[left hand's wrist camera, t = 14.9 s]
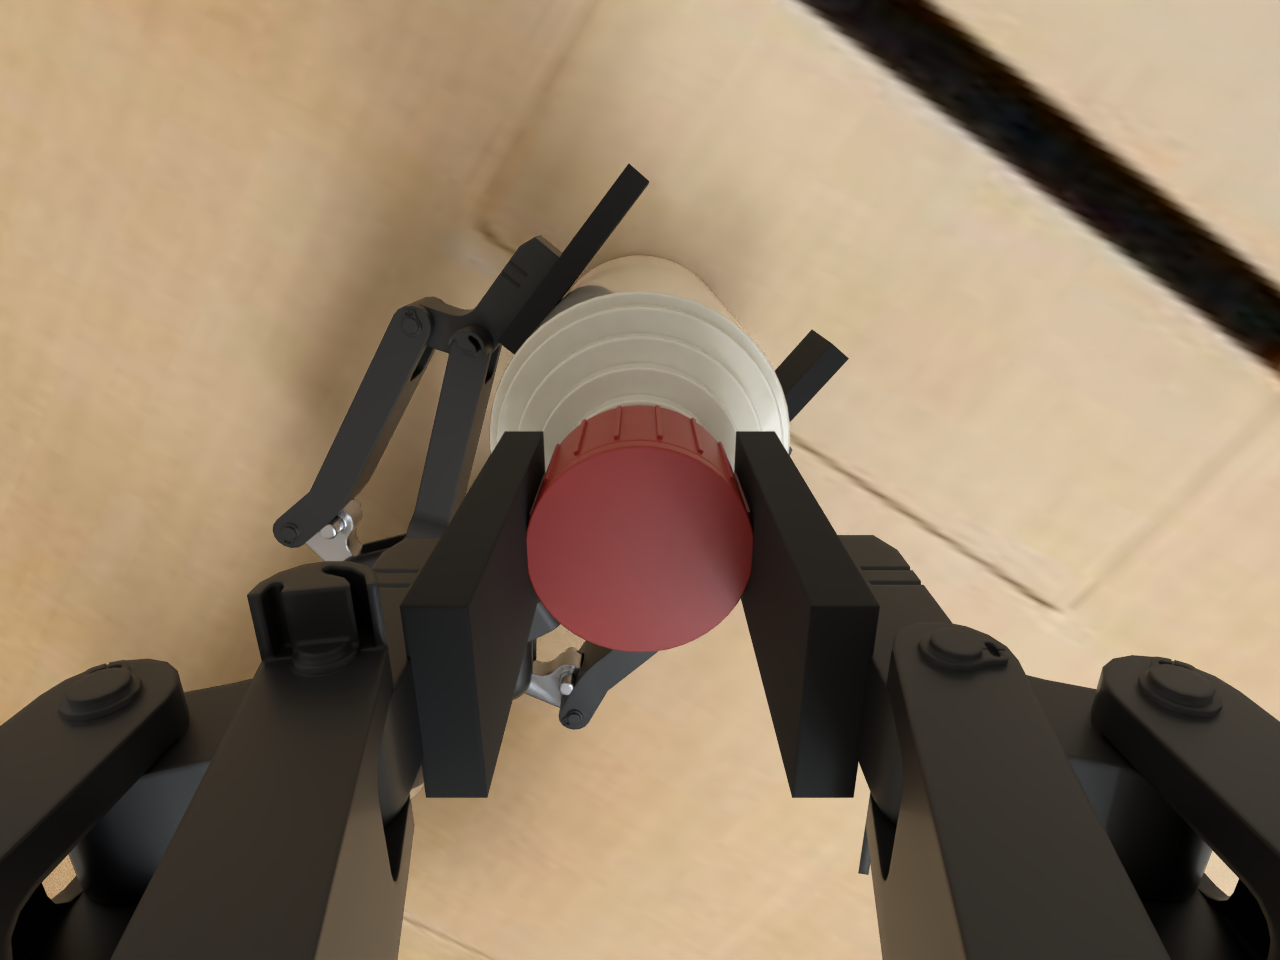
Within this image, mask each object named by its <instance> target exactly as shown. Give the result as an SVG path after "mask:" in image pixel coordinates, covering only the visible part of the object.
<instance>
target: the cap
mask: <svg viewBox="0 0 1280 960" xmlns="http://www.w3.org/2000/svg"><path fill="white" fill-rule="evenodd" d="M749 516H750V510H749V507H748V504H747V502H746V499H745V496H744V493H743V490H742V488H741V485H740V482H739V479H738V477H737V474H736V473H733V470H732V467H731V464H730V462H729V460H728V458H727V455H726V453H725V450H724V447H723V444H722V443H721V442H719V443H718V442H717V441H716V439H715V438H714V437H713V436H712V435H711V434H710V433H709V432H708V431H707V430H706V429H704V428H703V427H702V426H701V425H700V424H698V423H696V420H695V419H694V418H691V419H690V418H688V417H686V416H684V415H682V414H680V413H678V412H675V411H672V410H668V409H665V408H660V406H659V405H656V406H642V405H636V406H624V407H622V406H617V408H615V409H611V410H608V411H605V412H602V413H599V414H597V415H595V416H593V417H591V418H589V419H588V420H586V419H584V420H582V422H581V424H580V425H579V426H577V427H576V428H575V429H574V430H573V431H572V432H571V433H569V434H568V435H567V437H566V438H565V439H564V440H563V441H562V442H561V444H558V443H557V445H556V446H555V449H554V452H553V455H552V457H551V460H550V463H549V465H548V468H547V471H546V474H545V475H543V478H542V481H541V484H540V486H539V489H538V492H537V495H536V498H535V500H534V503H533V506H532V509H531V512H530V519H529V523H528V526H527V530H526V539H527V556H528V571H529V578H530V581H531V584H532V586H533V588H534V590H535V592H536V594H537V596H538V597H539V599H540V601H541V602H542V604H543V605H544V607H545V608H546V609H547V610H548V611H549V613H550V614H551V615H552V616H553V617H554V618H555V619H556V620H557V621H558V622H559V623H560V624H561V625H563V626H564V627H565V628H567V629H568V630H570V631H571V632H572V633H574V634H575V635H577V636H579V637H581V638H583V639H585V640H586V641H589V642H591V643H594V644H596V645H599V646H602V647H606V648H610V649H613V650H620V651H626V652H653V651H660V650H665V649H670V648H674V647H677V646H680V645H683V644H686V643H688V642H690V641H693V640H695V639H697V638H699V637H700V636H702V635H704V634H706V633H707V632H709V631H710V630H711V629H713V628H714V627H715V626H717V625H718V624H719V623H720V622H721V621H722V620H723V619H724V618H725V617H726V616H727V615H728V614H729V613H730V612H731V611H732V609H733V608H734V607H735V606H736V604H737V603H738V601H739V600H740V598H741V596H742V595H743V593H744V591H745V589H746V587H747V584H748V582H749V580H750V576H751V565H752V549H753V529H752V524H751V521H750V518H749Z"/></svg>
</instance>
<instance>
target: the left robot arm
mask: <svg viewBox="0 0 1280 960" xmlns="http://www.w3.org/2000/svg"><path fill="white" fill-rule="evenodd" d="M734 473H736V474H737V477H738V479H739V482H740V485H741V488H742V490H743V493H744V496H745V499H746V502H747V504H748V507H749V510H750V516H749V518H750V521H751V524H752V529H753V549H752V565H751V576H750V580H749V582H748V584H747V587H746V589H745V591H744V593H743V595H742V596H741V601H742V604H743V608H744V612H745V616H746V620H747V624H748V628H749V632H750V636H751V639H752V643H753V647H754V651H755V655H756V659H757V663H758V667H759V670H760V674H761V678H762V682H763V686H764V690H765V694H766V698H767V701H768V705H769V709H770V713H771V717H772V721H773V725H774V729H775V732H776V736H777V740H778V744H779V748H780V752H781V756H782V760H783V763H784V767H785V771H786V775H787V779H788V783H789V787H790V791H791V794H792V798H853V797H854V790H855V782H856V775H857V768H858V761H859V763H860V766H861V769H862V771H863V774H864V776H865V779H866V781H867V784H868V786H869V789H870V791H871V792H870V799H869V805H868V812H867V819H866V825H865V832H864V839H863V846H862V852H861V859H860V866H859V873H861V874H867V875H868V873H869V867H870V863H871V871H872V879H873V887H874V894H875V902H876V910H877V918H878V926H879V934H880V942H881V950H882V958H883V960H1280V722H1279V721H1278V720H1277V719H1275V718H1274V717H1273V716H1271V715H1270V714H1269V713H1268V712H1266V711H1265V710H1264V709H1262V708H1261V707H1260V706H1258V705H1257V704H1256V703H1254V702H1253V701H1252V700H1250V699H1249V698H1248V697H1246V696H1245V695H1244V694H1243V693H1241V692H1240V691H1238V690H1237V689H1235V688H1233V687H1232V686H1230V685H1228V684H1227V683H1225V682H1224V681H1222V680H1220V679H1219V678H1217V677H1215V676H1213V675H1211V674H1208V673H1206V672H1203V671H1201V670H1198V669H1196V668H1195V667H1193V666H1192V665H1189V664H1187V663H1183V662H1180V661H1176V660H1175V661H1171V659H1167V658H1162V657H1147V656H1134V655H1131V656H1126V657H1120V658H1114V659H1112V660H1111V661H1110V662H1109V663H1107V664H1106V665H1105V666H1104V667H1103V668H1102V672H1101V676H1100V679H1099V683H1098V686H1097V689H1091V688H1086V687H1081V686H1076V685H1070V684H1065V683H1060V682H1054V681H1049V680H1044V679H1040V678H1036V677H1032V676H1028V675H1026V674H1025V672H1024V671H1023V669H1022V667H1021V665H1020V663H1019V661H1018V659H1017V658H1016V657H1015V656H1014V655H1013V653H1012V652H1011V651H1010V650H1009V649H1008V648H1007V647H1006V646H1005V645H1003V644H1002V643H1000V642H999V641H997V640H996V639H994V638H992V637H991V636H989V635H987V634H985V633H982V632H979V631H977V630H974V629H972V628H969V627H966V626H962V625H956V624H953V623H952V622H951V621H950V619H949V618H948V617H947V615H946V614H945V613H944V611H943V610H942V609H941V607H940V606H939V605H938V603H937V602H936V601H935V599H934V598H933V597H932V596H931V594H930V593H929V592H928V590H927V589H926V588H925V586H924V585H921V581H920V580H919V578H918V577H917V576H916V574H915V573H914V572H913V570H910V566H909V565H908V564H907V562H906V561H905V560H904V558H903V557H902V556H901V554H900V553H899V552H898V550H897V549H895V548H893V547H892V546H890V545H888V544H887V543H885V542H883V541H882V540H880V539H879V538H877V537H875V536H874V535H837V534H836V532H835V531H834V529H833V527H832V526H831V524H830V522H829V521H828V519H827V517H826V516H825V514H824V512H823V511H822V509H821V507H820V506H819V504H818V502H817V501H816V499H815V497H814V496H813V494H812V492H811V491H810V489H809V487H808V486H807V484H806V482H805V481H804V479H803V477H802V476H801V474H800V472H799V471H798V469H797V468H796V466H795V464H794V463H793V461H792V459H791V458H790V456H789V454H788V453H787V451H786V449H785V448H784V446H783V444H782V443H781V441H780V439H779V438H778V436H777V434H776V433H775V431H736V445H735V464H734ZM545 474H546V473H545V454H544V434H543V431H505V432H504V434H503V435H502V437H501V438H500V440H499V442H498V443H497V445H496V447H495V448H494V450H493V452H492V453H491V455H490V457H489V458H488V460H487V462H486V463H485V465H484V467H483V468H482V470H481V472H480V473H479V475H478V477H477V478H476V480H475V482H474V483H473V485H472V487H471V488H470V490H469V492H468V493H467V495H466V497H465V498H464V500H463V502H462V503H461V505H460V507H459V508H458V510H457V512H456V513H455V515H454V517H453V518H452V520H451V521H450V523H449V525H448V526H447V528H446V530H445V531H444V533H443V535H442V536H441V538H405V539H404V540H402V541H400V542H399V543H397V544H395V545H394V546H392V547H391V548H389V549H387V550H386V551H384V552H383V553H382V554H381V555H380V557H379V558H378V559H377V561H376V562H375V563H374V565H373V566H372V567H371V568H370V567H368V566H367V565H364V564H359V563H355V562H351V561H324V562H318V563H312V564H306V565H301V566H298V567H295V568H292V569H289V570H286V571H282V572H279V573H277V574H275V575H274V576H272V577H270V578H268V579H266V580H264V581H262V582H260V583H259V584H258V585H257V586H256V587H255V588H254V589H253V590H252V591H251V592H250V593H249V594H248V595H247V597H248V602H249V606H250V611H251V615H252V619H253V624H254V628H255V633H256V637H257V642H258V646H259V650H260V655H261V659H262V662H261V664H260V666H259V668H258V670H257V672H256V674H255V676H254V678H253V679H249V680H245V681H241V682H237V683H232V684H227V685H221V686H216V687H211V688H206V689H200V690H195V691H190V692H185V693H184V692H183V689H182V685H181V681H180V678H179V674H178V671H177V670H176V669H175V668H174V667H172V666H171V665H170V664H169V663H168V662H164V661H158V660H152V659H139V660H121V661H116V662H110V663H109V664H108V665H106V664H103V665H99V666H96V667H92V668H90V669H88V670H87V671H85V672H83V673H81V674H78V675H76V676H74V677H71V678H69V679H66V680H64V681H63V682H61V683H60V684H58V685H56V686H55V687H53V688H52V689H50V690H48V691H47V692H45V693H43V694H42V695H40V696H39V697H38V698H36V699H35V700H34V701H32V702H31V703H30V704H29V705H27V706H26V707H25V708H23V709H22V710H21V711H19V712H18V713H17V714H16V715H14V716H13V717H12V718H10V719H9V720H8V721H6V722H5V723H4V724H2V725H1V726H0V960H397V959H398V952H399V944H400V936H401V928H402V920H403V912H404V904H405V896H406V888H407V880H408V872H409V864H410V856H411V848H412V840H413V833H414V819H413V812H412V805H411V799H410V791H411V789H412V786H413V784H414V781H415V779H416V776H417V774H418V771H419V768H420V766H421V764H422V771H423V779H424V786H425V793H426V798H487V797H488V793H489V789H490V785H491V781H492V777H493V773H494V769H495V766H496V762H497V758H498V754H499V750H500V746H501V742H502V738H503V735H504V731H505V727H506V723H507V719H508V715H509V711H510V707H511V704H512V700H513V696H514V692H515V688H516V684H517V680H518V676H519V673H520V669H521V665H522V661H523V657H524V653H525V649H526V645H527V642H528V638H529V634H530V630H531V626H532V622H533V618H534V614H535V611H536V607H537V603H538V599H539V597H538V596H537V594H536V592H535V590H534V588H533V586H532V584H531V581H530V578H529V571H528V556H527V539H526V530H527V526H528V523H529V519H530V512H531V509H532V506H533V503H534V500H535V498H536V495H537V492H538V489H539V486H540V484H541V481H542V478H543V475H545ZM1212 850H1213V851H1214V852H1215V853H1216V854H1217V855H1218V856H1219V858H1220V859H1221V860H1222V861H1223V862H1224V863H1225V864H1226V865H1227V866H1228V867H1229V868H1230V869H1231V870H1232V871H1233V872H1234V873H1235V874H1236V875H1237V876H1238V878H1239V881H1238V883H1237V886H1236V888H1235V890H1234V893H1233V894H1232V895H1231V896H1230V897H1229V896H1227V895H1226V894H1225V893H1224V892H1222V891H1221V890H1220V889H1219V888H1218V887H1217V886H1216V885H1215V884H1214V883H1213V882H1212V881H1211V880H1210V879H1209V878H1208V876H1207V875H1206V874H1205V873H1204V871H1205V868H1206V866H1207V863H1208V860H1209V858H1210V855H1211V853H1212ZM68 854H69V857H70V860H71V862H72V865H73V867H74V870H75V873H76V875H77V876H76V877H75V878H74V879H73V880H72V881H71V882H70V883H69V885H68V886H67V887H66V888H65V889H64V890H63V891H61V892H60V893H59V894H58V895H56V896H55V897H54V898H53V899H50V898H49V897H48V896H47V894H46V892H45V890H44V887H43V885H42V882H43V880H44V879H45V878H46V877H47V876H48V875H49V874H50V873H51V872H52V871H53V870H54V869H55V868H56V867H57V866H58V865H59V863H60V862H61V861H62V860H63V859H64V858H65V857H66V856H67V855H68Z"/></svg>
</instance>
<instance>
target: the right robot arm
mask: <svg viewBox="0 0 1280 960" xmlns="http://www.w3.org/2000/svg"><path fill="white" fill-rule="evenodd" d="M648 184H649V181H648V180H647V179H646V178H645V177H644V176H642V175H641V174H640V173H639V172H638V171H637V170H636V169H635V168H633V167H632V166H631V165H630V164H628V165H627V167H626V168H625V169H624V171H623V172H622V173H621V175H620V176H619V178H618V179H617V180H616V182H615V183H614V184H613V186H612V187H611V188H610V190H609V191H608V192H607V194H606V195H605V196H604V198H603V199H602V200H601V202H600V203H599V205H598V206H597V207H596V209H595V210H594V211H593V213H592V214H591V215H590V217H589V218H588V219H587V221H586V222H585V223H584V225H583V226H582V227H581V229H580V230H579V232H578V233H577V234H576V236H575V237H574V238H573V240H572V241H571V242H570V244H569V245H568V246H567V248H566V249H565V250H564V252H563V253H561V252H560V251H559V250H558V249H557V248H555V247H554V246H553V245H552V244H551V243H549V242H548V241H547V240H546V239H545V238H543V237H542V236H537V237H534V238H533V239H531V240H529V241H528V242H526V243H524V244H523V245H521V246H520V247H519V248H518V250H517V251H516V252H515V254H514V255H513V257H512V258H511V259H510V261H509V262H508V264H507V265H506V266H505V268H504V269H503V270H502V272H501V273H500V275H499V276H498V277H497V279H496V280H495V282H494V283H493V284H492V286H491V287H490V289H489V290H488V291H487V293H486V294H485V296H484V297H483V298H482V300H481V301H480V303H479V304H478V305H477V307H476V308H475V309H472V310H464V309H459V308H456V307H453V306H451V305H448V304H445V303H444V302H443V301H442V300H441V299H438V298H436V297H426V298H423V299H421V300H418V301H416V302H414V303H411V304H409V305H406V306H404V307H402V308H400V309H398V310H397V312H396V313H395V314H394V316H393V318H392V320H391V322H390V324H389V326H388V328H387V330H386V333H385V335H384V337H383V339H382V341H381V343H380V345H379V347H378V349H377V351H376V354H375V356H374V358H373V360H372V362H371V364H370V366H369V368H368V370H367V373H366V375H365V377H364V379H363V381H362V383H361V385H360V387H359V389H358V391H357V394H356V396H355V398H354V400H353V402H352V404H351V406H350V408H349V410H348V413H347V415H346V417H345V419H344V421H343V423H342V425H341V427H340V429H339V431H338V434H337V436H336V438H335V440H334V442H333V444H332V446H331V448H330V450H329V453H328V455H327V457H326V459H325V461H324V463H323V465H322V467H321V469H320V471H319V474H318V476H317V478H316V480H315V482H314V484H313V486H312V488H311V490H310V492H309V493H308V494H307V495H305V496H304V497H303V498H302V499H301V500H300V501H298V502H297V503H296V504H295V505H294V506H293V507H291V508H290V509H289V510H288V511H287V512H286V513H284V514H283V515H282V516H281V517H280V518H279V519H277V521H276V522H275V523H274V525H273V533H274V536H275V538H276V539H277V540H278V542H280V543H281V544H283V545H284V546H287V547H291V548H295V547H300V546H301V545H303V544H305V543H306V544H307V545H308V546H309V547H310V548H311V549H312V550H313V551H314V552H315V553H316V554H318V555H319V556H320V557H321V558H322V559H323V560H324V561H351V562H355V563H359V564H364V565H367V566H368V567H370V568H371V567H372V566H373V565H374V563H375V562H376V561H377V559H378V558H379V557H380V555H381V554H382V553H383V552H384V551H386V550H387V549H389V548H391V547H392V546H394V545H395V544H397V543H399V542H400V541H402V540H404V539H405V538H441V536H442V535H443V533H444V531H445V530H446V528H447V526H448V525H449V523H450V521H451V520H452V518H453V517H454V515H455V513H456V512H457V510H458V508H459V507H460V505H461V503H462V502H463V500H464V498H465V494H466V490H467V486H468V481H469V477H470V473H471V469H472V465H473V461H474V457H475V453H476V449H477V445H478V441H479V437H480V433H481V429H482V424H483V420H484V416H485V412H486V408H487V404H488V400H489V396H490V392H491V388H492V384H493V380H494V376H495V372H496V367H497V363H498V359H499V355H500V351H501V347H502V345H503V346H504V347H505V348H507V349H508V350H509V351H511V352H512V353H513V354H516V352H517V351H518V350H519V349H520V347H521V346H522V345H523V344H524V342H525V341H526V340H527V339H528V337H529V336H530V335H531V334H532V333H533V332H534V331H535V329H536V328H537V327H538V326H539V325H540V324H541V322H542V321H543V320H544V319H545V318H546V317H547V315H548V314H549V313H550V312H551V311H552V310H553V308H554V307H555V306H556V305H557V304H558V303H559V302H560V300H561V299H562V298H563V296H564V295H565V294H566V292H567V291H568V290H569V288H570V287H571V286H572V285H573V283H574V282H575V281H576V279H577V278H578V277H579V275H580V274H581V273H582V271H583V270H584V269H585V267H586V266H587V265H588V263H589V262H590V261H591V259H592V258H593V257H594V255H595V254H596V253H597V251H598V250H599V249H600V248H601V246H602V245H603V244H604V242H605V241H606V240H607V238H608V237H609V236H610V234H611V233H612V232H613V230H614V229H615V228H616V226H617V225H618V224H619V222H620V221H621V220H622V218H623V217H624V216H625V214H626V213H627V212H628V211H629V209H630V208H631V207H632V205H633V204H634V203H635V201H636V200H637V199H638V197H639V196H640V195H641V193H642V192H643V191H644V189H645V188H646V187H647V185H648ZM436 349H437V350H440V351H443V352H446V353H449V357H448V362H447V367H446V371H445V376H444V380H443V385H442V389H441V394H440V398H439V403H438V407H437V412H436V417H435V421H434V426H433V430H432V435H431V439H430V444H429V448H428V453H427V457H426V462H425V466H424V471H423V476H422V480H421V485H420V489H419V494H418V498H417V503H416V507H415V511H414V514H413V517H412V519H411V521H410V524H409V527H408V530H407V533H406V534H402V535H398V536H394V537H390V538H386V539H381V540H377V541H373V542H369V543H365V544H361V543H360V541H359V540H358V538H357V535H356V529H357V526H358V525H359V523H360V521H361V520H362V510H361V504H360V502H359V501H358V500H356V499H354V497H355V496H356V495H357V494H358V493H359V492H360V491H361V490H362V489H363V488H364V486H365V485H366V484H367V483H368V481H369V479H370V478H371V476H372V474H373V473H374V471H375V469H376V467H377V465H378V463H379V461H380V459H381V457H382V455H383V453H384V451H385V449H386V447H387V445H388V443H389V441H390V439H391V437H392V435H393V433H394V431H395V429H396V427H397V425H398V423H399V421H400V419H401V417H402V415H403V413H404V411H405V409H406V407H407V405H408V403H409V401H410V399H411V397H412V395H413V393H414V391H415V389H416V387H417V385H418V383H419V381H420V379H421V377H422V375H423V373H424V371H425V370H426V368H427V366H428V364H429V362H430V360H431V358H432V356H433V354H434V352H435V350H436ZM848 359H849V358H847V357H846V356H845V355H844V354H843V353H842V352H841V351H840V350H838V349H837V348H836V347H835V346H834V345H833V344H832V343H830V342H829V341H827V340H826V339H825V338H823V337H822V336H820V335H819V334H818V333H816V332H815V331H813V330H811V331H810V332H809V333H808V334H807V336H806V337H805V338H804V339H803V340H802V341H801V342H800V343H799V345H798V346H797V347H796V348H795V349H794V350H793V351H792V352H791V353H790V355H789V356H788V357H787V358H786V359H785V360H784V361H783V362H782V364H781V365H780V366H779V367H778V368H777V369H776V370H775V373H776V375H777V377H778V379H779V382H780V384H781V386H782V389H783V393H784V396H785V400H786V403H787V407H788V414H789V422H790V421H791V420H792V419H793V418H794V417H795V416H796V415H797V414H798V413H799V412H800V411H801V410H802V408H803V407H804V406H805V405H806V404H807V403H808V402H809V401H810V400H811V399H812V398H813V397H814V396H815V394H816V393H817V392H818V391H819V390H820V389H821V388H822V387H823V386H824V385H825V384H826V383H827V382H828V380H829V379H830V378H831V377H832V376H833V375H834V374H835V373H836V372H837V371H838V370H839V369H840V367H841V366H842V365H843V364H844V363H845V362H846V361H847V360H848ZM791 452H792V449H791V447H789V456H790V454H791ZM559 625H560V623H559V622H558V621H557V620H556V619H555V618H554V617H553V616H552V615H551V614H550V613H549V611H548V610H547V609H546V608H545V607H544V605H543V604H542V602H541V601H540V599H538V603H537V607H536V611H535V614H534V618H533V622H532V626H531V630H530V634H529V638H528V642H527V645H526V649H525V653H524V657H523V661H522V665H521V669H520V673H519V676H518V680H517V684H516V688H515V692H514V696H513V700H514V699H516V698H518V697H520V696H521V695H523V694H524V693H525V694H528V695H530V696H532V697H535V698H537V699H540V700H542V701H545V702H547V703H549V704H552V705H554V706H557V707H559V708H560V711H559V720H560V722H561V723H562V725H564V726H565V727H567V728H569V729H580V728H583V727H585V726H586V725H587V724H588V723H589V721H590V719H591V718H592V716H593V714H594V713H595V711H596V709H597V708H598V706H599V704H600V703H601V701H602V699H603V698H604V696H605V694H606V693H607V691H608V690H609V689H610V688H612V687H613V686H614V685H616V684H617V683H618V682H619V681H621V680H622V679H623V678H625V677H626V676H627V675H628V674H630V673H631V672H632V671H634V670H635V669H636V668H637V667H639V666H640V665H641V664H643V663H644V662H645V661H646V660H648V659H649V658H650V657H652V656H653V655H654V654H655V653H657V652H658V651H653V652H626V651H620V650H613V649H610V648H606V647H602V646H599V645H596V644H594V643H591V642H589V641H585V642H584V644H583V645H582V647H581V648H580V650H579V651H578V650H577V649H576V648H574V647H570V648H568V649H566V651H565V652H563V653H561V654H560V655H559V656H558V657H557V658H556V659H554V660H552V661H550V662H540V661H537V660H536V638H538V637H540V636H542V635H544V634H546V633H548V632H550V631H552V630H554V629H555V628H557V627H558V626H559ZM423 785H424V779H423V771H422V764H421V766H420V768H419V771H418V774H417V776H416V779H415V781H414V784H413V786H412V789H411V791H410V799H411V800H412V798H413V797H414V796H415V795H416V794H417V793H418V792H419V791H420V790H421V789H422V787H423Z"/></svg>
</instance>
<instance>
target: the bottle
mask: <svg viewBox="0 0 1280 960" xmlns="http://www.w3.org/2000/svg"><path fill="white" fill-rule="evenodd" d="M636 405H642V406H656V405H659V406H660V408H665V409H668V410H672V411H675V412H678V413H680V414H682V415H684V416H686V417H688V418H690V419H691V418H694V419H695V420H696V423H698V424H700V425H701V426H702V427H703V428H704V429H706V430H707V431H708V432H709V433H710V434H711V435H712V436H713V437H714V438H715V439H716V441H717V442H718V443H719V442H721V443H722V444H723V447H724V450H725V453H726V455H727V458H728V460H729V462H730V464H731V467H732V470H733V473H734V464H735V445H736V431H775V433H776V434H777V436H778V438H779V439H780V441H781V443H782V444H783V446H784V448H785V449H786V451H787V453H788V454H789V447H790V422H789V414H788V407H787V403H786V400H785V396H784V393H783V389H782V386H781V384H780V382H779V379H778V377H777V375H776V373H775V370H774V369H773V367H772V365H771V364H770V362H769V361H768V359H767V357H766V356H765V354H764V353H763V351H762V350H761V349H760V348H759V347H758V345H757V344H756V343H755V342H754V341H753V339H752V338H751V337H750V336H749V335H748V334H747V332H746V331H745V330H744V329H743V328H742V327H741V325H740V324H739V323H738V322H737V321H736V320H735V318H734V317H733V316H732V315H731V314H730V313H729V311H728V310H727V309H726V308H725V307H724V305H723V304H722V303H721V302H720V301H719V300H718V298H717V297H716V296H715V295H714V294H713V293H712V291H711V290H710V289H709V288H708V287H707V286H706V284H705V283H704V282H703V281H702V280H701V279H699V278H698V277H697V276H696V275H695V274H694V273H692V272H691V271H689V270H688V269H686V268H685V267H683V266H681V265H679V264H677V263H675V262H672V261H669V260H667V259H664V258H659V257H654V256H644V255H635V256H625V257H621V258H616V259H613V260H610V261H608V262H605V263H603V264H601V265H599V266H597V267H595V268H593V269H592V270H590V271H589V272H588V273H586V274H585V275H584V276H582V277H581V278H580V279H579V280H578V281H577V282H576V283H575V284H574V285H573V286H572V288H571V289H570V290H569V291H568V292H567V293H566V295H565V296H564V297H563V298H562V299H561V300H560V302H559V303H558V304H557V305H556V306H555V307H554V308H553V310H552V311H551V312H550V313H549V314H548V315H547V317H546V318H545V319H544V320H543V321H542V322H541V324H540V325H539V326H538V327H537V328H536V329H535V331H534V332H533V333H532V334H531V335H530V336H529V337H528V339H527V340H526V341H525V342H524V344H523V345H522V346H521V347H520V349H519V350H518V351H517V352H516V354H515V355H514V356H513V358H512V360H511V361H510V363H509V365H508V367H507V368H506V370H505V372H504V374H503V376H502V378H501V381H500V383H499V386H498V388H497V391H496V394H495V398H494V402H493V406H492V410H491V419H490V428H489V429H490V451H491V453H492V452H493V450H494V448H495V447H496V445H497V443H498V442H499V440H500V438H501V437H502V435H503V434H504V432H505V431H543V434H544V454H545V473H546V471H547V468H548V465H549V463H550V460H551V457H552V455H553V452H554V449H555V446H556V445H557V443H558V444H561V442H562V441H563V440H564V439H565V438H566V437H567V435H568V434H569V433H571V432H572V431H573V430H574V429H575V428H576V427H577V426H579V425H580V424H581V422H582V420H584V419H586V420H588V419H589V418H591V417H593V416H595V415H597V414H599V413H602V412H605V411H608V410H611V409H615V408H617V406H622V407H624V406H636Z"/></svg>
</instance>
